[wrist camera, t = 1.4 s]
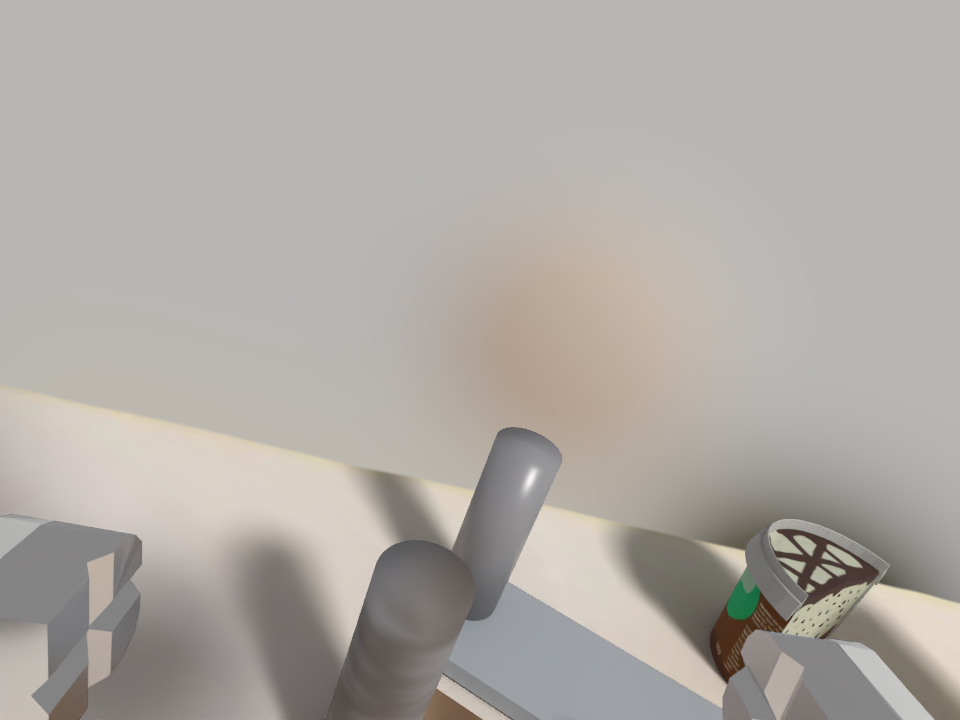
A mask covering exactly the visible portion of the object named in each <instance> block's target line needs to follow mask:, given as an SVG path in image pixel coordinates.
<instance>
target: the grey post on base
mask: <svg viewBox="0 0 960 720" xmlns="http://www.w3.org/2000/svg"><path fill="white" fill-rule="evenodd" d="M561 463H562V455H561V453H560V451H559V449H558V448H557V447H556V446H555V445H554V444H553V443H552V442H551V441H549V440H548V439H547V438H545V437H544V436H542V435H540V434H538V433H536V432H533V431H530V430H527V429H523V428H515V427H511V428H505V429H502V430H500V431H499V432H498V434H497V436H496V439H495V441H494V444H493V446H492V449H491V452H490V454H489V456H488V459H487V462H486V464H485V467H484V469H483V472H482V475H481V477H480V480H479V482H478V485H477V487H476V490H475V492H474V495H473V498H472V500H471V503H470V505H469V508H468V510H467V513H466V516H465V518H464V521H463V523H462V526H461V528H460V531H459V534H458V536H457V539H456V541H455V544H454V546H453V549H452V551H451V552H452V553H454V554H455V555H456V556H458V557H459V558H460V559H461V560H462V561H463V562H464V563H465V565H466V566H467V567H468V569H469V570H470V572H471V574H472V576H473V579H474V582H475V598H474V601H473V604H472V606H471V609H470V611H469V613H468V616H467V618H466V620H465V623H464V625H463V627H462V629H461V632H460V634H459V636H458V639H457V641H456V643H455V646H454V648H453V650H452V653H451V655H450V657H449V660H448V662H447V664H446V667H445V669H444V671H443V673H444V674H445V675H447V676H448V677H450V678H451V679H453V680H454V681H456V682H457V683H459V684H460V685H462V686H463V687H465V688H466V689H468V690H469V691H471V692H472V693H474V694H475V695H477V696H478V697H480V698H481V699H483V700H484V701H486V702H487V703H489V704H490V705H492V706H493V707H495V708H496V709H498V710H500V711H501V712H503V713H504V714H506V715H507V716H509V717H510V718H512V719H513V720H723V719H722V717H723V709H722V708H720V707H718V706H716V705H715V704H713V703H711V702H710V701H708V700H706V699H705V698H703V697H701V696H700V695H698V694H696V693H695V692H693V691H691V690H690V689H688V688H686V687H684V686H683V685H681V684H679V683H678V682H676V681H674V680H673V679H671V678H669V677H668V676H666V675H664V674H663V673H661V672H659V671H658V670H656V669H654V668H652V667H651V666H649V665H647V664H646V663H644V662H642V661H641V660H639V659H637V658H636V657H634V656H632V655H631V654H629V653H627V652H626V651H624V650H622V649H620V648H619V647H617V646H615V645H614V644H612V643H610V642H609V641H607V640H605V639H604V638H602V637H600V636H599V635H597V634H595V633H594V632H592V631H590V630H588V629H587V628H585V627H583V626H582V625H580V624H578V623H577V622H575V621H573V620H572V619H570V618H568V617H567V616H565V615H563V614H562V613H560V612H558V611H556V610H555V609H553V608H551V607H550V606H548V605H546V604H545V603H543V602H541V601H540V600H538V599H536V598H535V597H533V596H531V595H530V594H528V593H526V592H524V591H523V590H521V589H519V588H518V587H516V586H514V585H513V584H511V583H509V582H508V580H509V577H510V575H511V573H512V571H513V569H514V566H515V564H516V562H517V560H518V558H519V555H520V553H521V551H522V549H523V547H524V544H525V542H526V540H527V538H528V536H529V533H530V531H531V529H532V527H533V525H534V522H535V520H536V518H537V516H538V514H539V511H540V509H541V507H542V505H543V503H544V500H545V498H546V496H547V494H548V492H549V489H550V487H551V485H552V483H553V481H554V478H555V476H556V474H557V472H558V470H559V467H560V465H561Z"/></svg>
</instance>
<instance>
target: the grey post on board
mask: <svg viewBox="0 0 960 720" xmlns="http://www.w3.org/2000/svg"><path fill="white" fill-rule="evenodd" d="M474 598H475V582H474V579H473V576H472V574H471V572H470V570H469V569H468V567H467V566H466V565H465V563H464V562H463V561H462V560H461V559H460V558H459V557H458V556H456V555H455V554H454V553H452V552H451V551H449V550H448V549H446V548H444V547H442V546H439V545H437V544H434V543H430V542H426V541H405V542H401V543H397V544H395V545H393V546H391V547H389V548H388V549H387V550H385V551H384V552H383V553H382V554H381V556H380V557H379V559H378V561H377V563H376V566H375V569H374V572H373V575H372V579H371V582H370V585H369V588H368V591H367V594H366V597H365V600H364V603H363V606H362V610H361V613H360V616H359V619H358V622H357V625H356V628H355V631H354V634H353V637H352V641H351V644H350V647H349V650H348V653H347V656H346V659H345V662H344V665H343V669H342V672H341V675H340V678H339V681H338V684H337V687H336V690H335V693H334V696H333V700H332V703H331V706H330V709H329V712H328V715H327V718H326V720H482V719H481V718H479V717H478V716H476V715H475V714H473V713H472V712H470V711H469V710H468V709H466V708H465V707H463V706H462V705H460V704H459V703H457V702H456V701H454V700H453V699H451V698H450V697H448V696H447V695H445V694H444V693H442V692H441V691H439V690H438V689H436V688H437V685H438V683H439V681H440V678H441V676H442V674H443V671H444V669H445V667H446V664H447V662H448V660H449V657H450V655H451V653H452V650H453V648H454V646H455V643H456V641H457V639H458V636H459V634H460V632H461V629H462V627H463V625H464V623H465V620H466V618H467V616H468V613H469V611H470V609H471V606H472V604H473V601H474Z"/></svg>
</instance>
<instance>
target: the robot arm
mask: <svg viewBox="0 0 960 720" xmlns="http://www.w3.org/2000/svg"><path fill="white" fill-rule="evenodd" d="M141 564H142V541H141V540H140V539H139V538H138V537H137V536H136V535H133V534H127V533H122V532H116V531H110V530H104V529H99V528H93V527H87V526H81V525H76V524H70V523H64V522H58V521H49V520H45V519H38V518H32V517H26V516H20V515H14V514H10V515H5V516H0V720H79V719H80V718H81V717H82V715H83V714H84V712H85V711H86V709H87V702H88V688H89V687H91V686H92V685H94V684H96V683H98V682H99V681H101V680H103V679H105V678H106V677H108V676H110V675H111V673H112V672H113V670H114V669H115V667H116V666H117V664H118V663H119V661H120V660H121V658H122V657H123V655H124V653H125V651H126V649H127V647H128V644H129V642H130V640H131V638H132V635H133V633H134V631H135V627H136V623H137V618H138V614H139V607H140V593H139V591H138V590H137V589H136V587H135V586H134V584H133V583H132V582H131V580H130V578H131V577H132V576H133V574H134V573H135V572H136V571H137V569H138V568H139V567H140V566H141ZM741 655H742V658H743V660H744V663H745V667H744V668H743V669H741V670H740V671H739V672H737V673H736V674H734V675H733V676H732V677H730V679H729V681H728V684H727V687H726V690H725V692H724V695H723V717H722V719H723V720H934V719H933V717H932V716H931V715H930V714H929V713H928V712H927V711H926V709H925V708H924V707H923V706H922V705H921V704H920V703H919V702H918V700H917V699H916V698H915V697H914V696H913V695H912V694H911V692H910V691H909V690H908V689H907V688H906V687H905V686H904V685H903V683H902V682H901V681H900V680H899V679H898V678H897V677H896V675H895V674H894V673H893V672H892V671H891V670H890V669H889V668H888V666H887V665H886V664H885V663H884V662H883V661H882V660H881V658H880V657H879V656H878V655H877V654H876V653H875V652H874V651H873V650H872V649H870V648H868V647H867V646H865V645H863V644H862V643H858V642H850V641H842V640H834V639H817V638H811V637H804V636H797V635H790V634H783V633H776V632H769V631H763V630H755V631H754V632H753V633H752V634H750V635H749V636H748V637H747V639H746V641H745V643H744V646H743V648H742V650H741Z"/></svg>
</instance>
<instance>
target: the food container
mask: <svg viewBox="0 0 960 720" xmlns="http://www.w3.org/2000/svg"><path fill="white" fill-rule="evenodd" d="M745 556H746V563H747V567H746V569H745V571H744V573H743V575H742V576H741V578H740V580H739V582H738V584H737V586H736V587H735V589H734V591H733V593H732V595H731V597H730V598H729V600H728V602H727V604H726V606H725V608H724V609H723V611H722V613H721V615H720V617H719V619H718V620H717V622H716V624H715V626H714V628H713V630H712V632H711V636H710V647H711V651H712V655H713V658H714V660H715V663H716V665H717V667H718V669H719V671H720V673H721V674H722V676H723V678H724V679H725V681H726V682H727V684H728V681H729V679H730V677H732V676H733V675H734V674H736V673H737V672H739V671H740V670H741V669H743V668H744V667H745V663H744V660H743V658H742V655H741V650H742V648H743V646H744V643H745V641H746V639H747V637H748V636H749V635H750V634H752V633H753V632H754V631H755V630H763V631H769V632H776V633H783V634H790V635H797V636H804V637H811V638H817V639H828V638H829V637H830V636H831V634H832V633H833V632H834V631H835V630H836V629H837V627H838V626H839V625H840V624H841V623H842V622H843V620H844V619H845V618H846V617H847V616H848V615H849V613H850V612H851V611H852V610H853V609H854V608H855V606H856V605H857V604H858V603H859V602H860V601H861V599H862V598H863V597H864V596H865V595H866V594H867V592H868V591H869V590H870V589H871V588H872V587H873V585H874V584H875V585H877V584H878V582H879V581H880V580H881V578H882V577H883V575H884V574H885V573H886V570H887V569H888V567H889V566H890V565H889V564H887V563H886V562H885V561H883V560H882V559H881V558H880V557H878V556H877V555H875V554H874V553H872V552H871V551H869V550H868V549H866V548H864V547H863V546H861V545H859V544H858V543H856V542H854V541H853V540H851V539H848V538H847V537H845V536H843V535H841V534H839V533H837V532H835V531H832V530H830V529H827V528H825V527H822V526H820V525H817V524H814V523H810V522H807V521H802V520H797V519H796V520H795V519H783V520H779V521H776V522H775V523H774V524H771V525H768V526H766V527H765V528H764V529H763V530H762V531H760V532H759V533H758V534H757V535H756V536H755V537H754V538H753V539H752V540H750V541H749V543H748V545H747V546H746V552H745Z"/></svg>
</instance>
